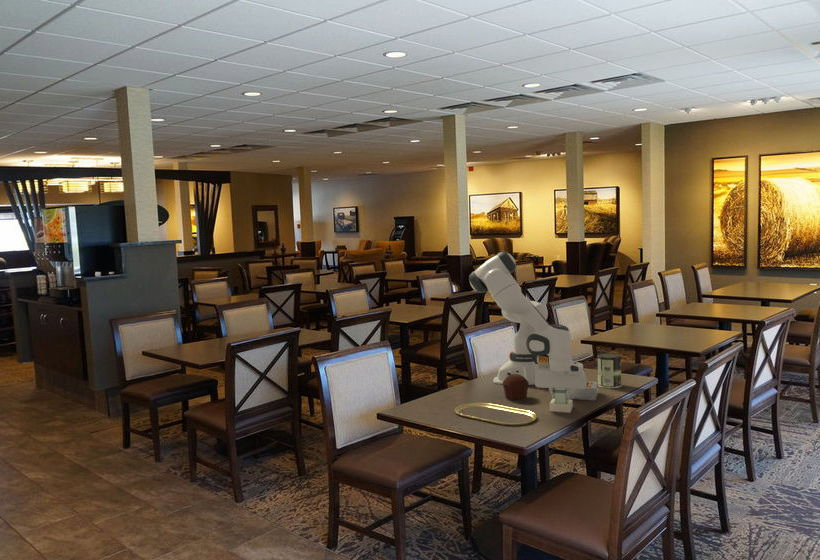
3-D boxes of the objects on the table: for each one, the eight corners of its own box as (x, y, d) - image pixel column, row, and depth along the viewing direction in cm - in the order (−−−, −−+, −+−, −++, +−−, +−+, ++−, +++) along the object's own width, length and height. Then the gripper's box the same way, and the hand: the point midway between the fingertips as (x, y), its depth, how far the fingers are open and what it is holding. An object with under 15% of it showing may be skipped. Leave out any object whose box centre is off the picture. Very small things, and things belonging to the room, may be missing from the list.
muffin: (528, 401, 271) (528, 378, 270) (502, 401, 273) (501, 378, 272) (529, 394, 282) (528, 372, 282) (503, 394, 285) (503, 371, 284)
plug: (555, 410, 257) (554, 388, 256) (556, 407, 261) (556, 385, 260) (565, 410, 256) (565, 388, 255) (567, 408, 259) (566, 386, 259)
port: (566, 398, 273) (566, 386, 273) (569, 391, 284) (569, 379, 284) (595, 400, 269) (595, 387, 268) (597, 393, 280) (597, 381, 280)
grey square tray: (549, 411, 256) (549, 403, 256) (552, 405, 263) (552, 398, 263) (570, 412, 253) (570, 405, 253) (572, 407, 261) (572, 399, 260)
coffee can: (617, 382, 297) (617, 352, 295) (624, 388, 286) (624, 357, 285) (595, 383, 297) (594, 353, 296) (601, 389, 287) (600, 357, 285)
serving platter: (519, 430, 235) (519, 426, 235) (445, 414, 259) (445, 410, 258) (545, 417, 249) (545, 413, 249) (473, 403, 272) (472, 400, 272)
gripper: (532, 365, 258) (533, 399, 259) (585, 367, 250) (586, 402, 251) (535, 362, 263) (536, 395, 265) (587, 364, 256) (587, 398, 257)
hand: (561, 399), depth 258 cm, fingers closed on plug, 4 cm apart
